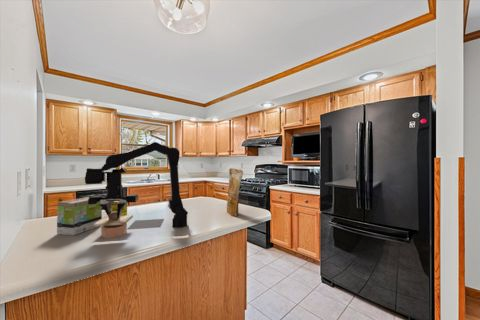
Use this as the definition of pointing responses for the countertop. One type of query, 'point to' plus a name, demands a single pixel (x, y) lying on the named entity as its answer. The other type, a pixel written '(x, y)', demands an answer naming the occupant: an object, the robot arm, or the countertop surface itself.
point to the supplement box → (114, 208)
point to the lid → (113, 220)
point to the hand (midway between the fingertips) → (114, 218)
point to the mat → (146, 224)
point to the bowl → (113, 230)
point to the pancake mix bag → (233, 191)
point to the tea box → (77, 216)
